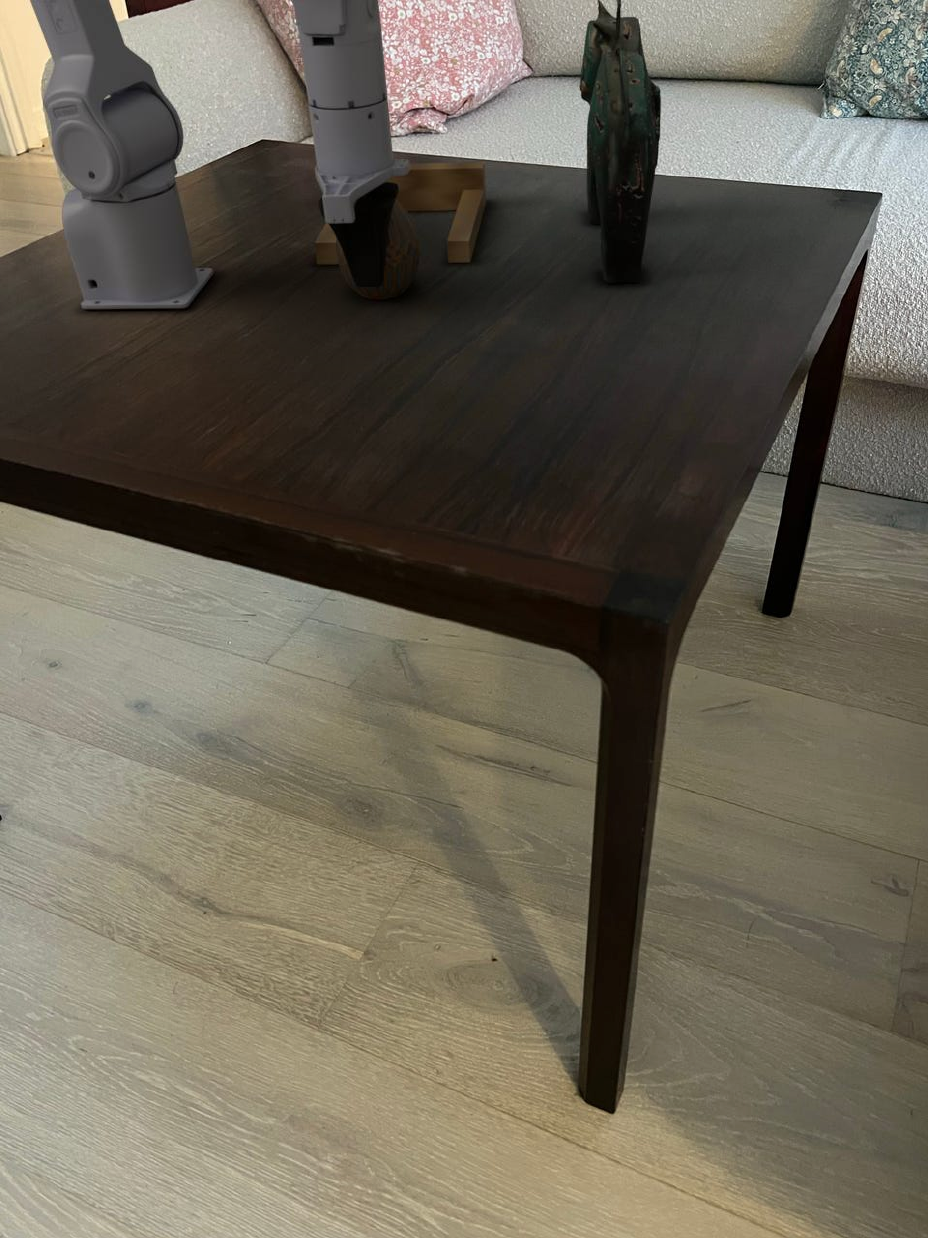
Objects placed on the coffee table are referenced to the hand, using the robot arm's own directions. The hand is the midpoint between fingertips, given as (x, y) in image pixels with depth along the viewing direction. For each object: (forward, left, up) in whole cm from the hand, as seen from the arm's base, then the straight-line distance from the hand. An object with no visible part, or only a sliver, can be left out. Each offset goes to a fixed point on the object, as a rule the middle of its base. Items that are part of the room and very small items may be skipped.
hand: (369, 284), depth 82 cm
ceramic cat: (+20, +15, -3) cm, 25 cm away
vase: (0, +5, -3) cm, 5 cm away
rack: (0, +18, -2) cm, 18 cm away
